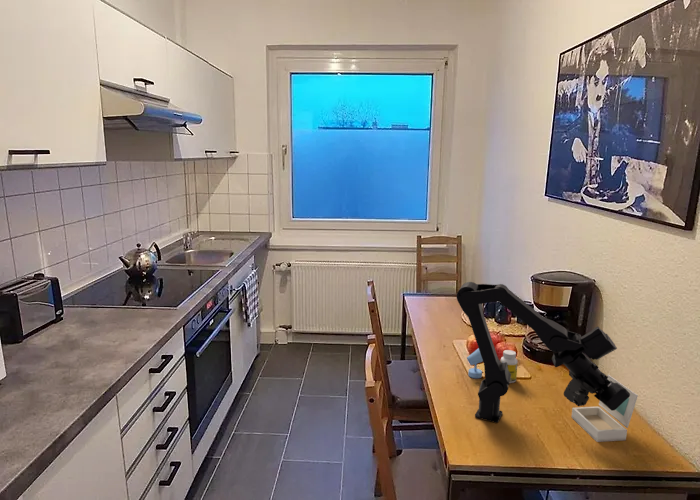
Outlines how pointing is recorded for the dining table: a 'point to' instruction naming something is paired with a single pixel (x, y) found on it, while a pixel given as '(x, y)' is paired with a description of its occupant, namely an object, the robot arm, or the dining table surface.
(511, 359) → the supplement bottle
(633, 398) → the lid
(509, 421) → the dining table surface
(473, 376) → the spotlight
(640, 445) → the dining table surface
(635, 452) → the dining table surface
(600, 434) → the box
